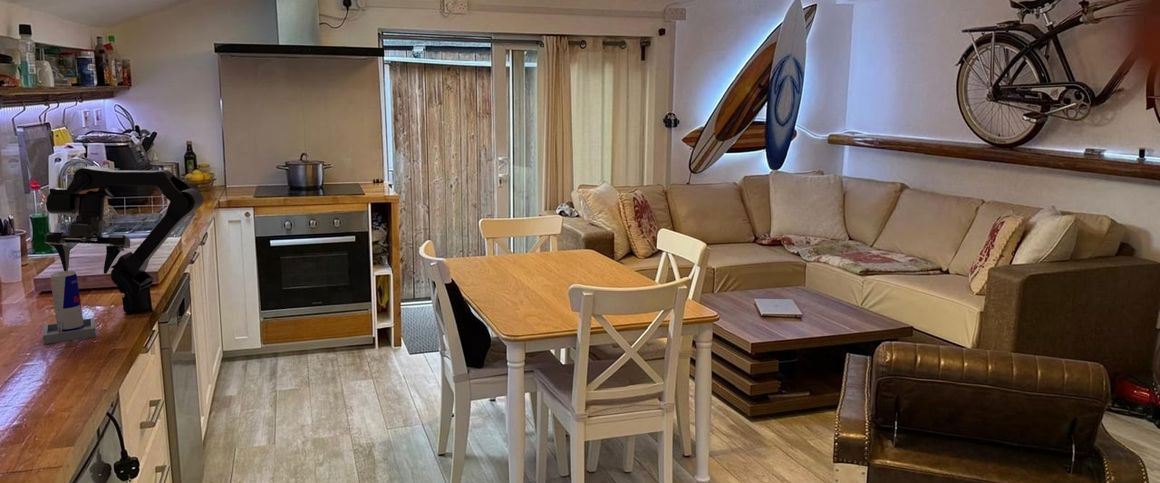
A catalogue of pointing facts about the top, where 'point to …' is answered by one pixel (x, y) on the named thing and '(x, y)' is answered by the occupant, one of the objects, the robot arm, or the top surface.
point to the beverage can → (67, 301)
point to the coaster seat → (68, 332)
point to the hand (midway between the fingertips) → (85, 273)
